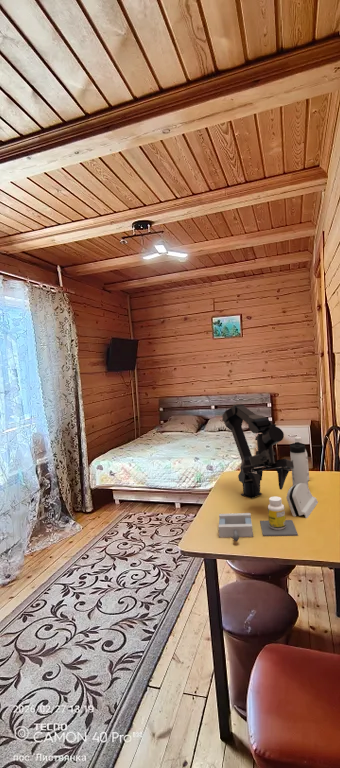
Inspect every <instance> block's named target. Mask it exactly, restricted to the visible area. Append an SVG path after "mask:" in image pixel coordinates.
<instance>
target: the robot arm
mask: <svg viewBox="0 0 340 768" xmlns="http://www.w3.org/2000/svg"><path fill="white" fill-rule="evenodd" d="M222 421H223V423H224V424H225V427H226V428H227V429H229V430H230V431H231V433H232V436H233V439H234V442H235V445H236V448H237V451H238V453H239V456H240V460H241V463H240V467H239V469H240V471H239V473H238V476H237V477H238V481H239V482H240V483H242V490H243V491H242V493H240V496H242V497H243V496H244V497H246V498H250V499H254V498H257V497H258V496H260V495H263V493H262V492H261V481H262V480H263V472H264V471H267V470H268V471H269V470H274V469H275V470H276V473H277V480H278V481H277V482H278V487H279V490H283V487H284V485H285V482H286V479H287V476H288V474H289V473H290V472H292V469H293V468H294V465H293V462H292V461H291V459H287V458H281V459H276V461H275V457H274V456H275V455H276V451H274V447H273V446H274V445H276V444H278V443H280V442H281V441H283V440H284V438H285V437H284V436H285V434H284V431H283V430H282V428H280V427H279V426H277V425H276V423H272V422H271V421H270V419H269V418H268V417H266V416H264V415H262V414H261V415H260V414H259V415H258V414H255V413H254V412H253V411H251V410H250V409H249V408H247V407H246V406H245V404H241V403H240V404H234V405H232V406H231V407H230V408H229V409H227V410H225V411H224V412H223V414H222ZM243 422H245V423H246V424H247V425H248V429H249V430H250V431H251V433H253V434H257V436H255V438H254V439H255V441H256V446H257V450H256V451H255V454H254V455H252V451H251V450H250V446H249V443H248V441H247V438H246V436H245V435H246V434H245V433H244V429H243V427H242V426H243Z"/></svg>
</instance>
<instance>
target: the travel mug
mask: <svg viewBox="0 0 340 768" xmlns="http://www.w3.org/2000/svg"><path fill="white" fill-rule="evenodd" d="M289 449H290V451H289V452H290V453H289V454H290V460H291V461H292V462H293V465H294V468H293V469H291V479H292V481H291V482H292V486H294V485H296V484H300V483H306V484H307V486H308V487H309V480H308V477H307V464H306V453H305V452H307V450H306V444H305V443H303V442H302V443H299V442H295V441H294V442H293V443H291V444H289ZM305 450H306V451H305Z"/></svg>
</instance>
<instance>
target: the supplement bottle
mask: <svg viewBox="0 0 340 768" xmlns="http://www.w3.org/2000/svg"><path fill="white" fill-rule="evenodd" d="M268 501H269V502H268V503H269V504H268V505H267V511H268V513H267V514H268V520H269V525H270V527H271V528H272V529H275V530H281V529H284V528H285V527H286V521H285V520H286V513H285V505H284V503H282V501H283V500H282V497H280V496H270V497H269V498H268Z"/></svg>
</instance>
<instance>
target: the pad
mask: <svg viewBox="0 0 340 768" xmlns="http://www.w3.org/2000/svg"><path fill="white" fill-rule="evenodd" d="M285 521H286V527H285V528H284V529H281V530H275V529H272V528H271V527H270V525H269V519H267V520H259V523H260V529H261V533H262V534H261V535H262V537H288V536H289V537H290V536H291V537H295V536H297V537H298V536H299V534H298V531H297V529H296V526H295V523H294V521H293V520H292V519H285Z"/></svg>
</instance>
